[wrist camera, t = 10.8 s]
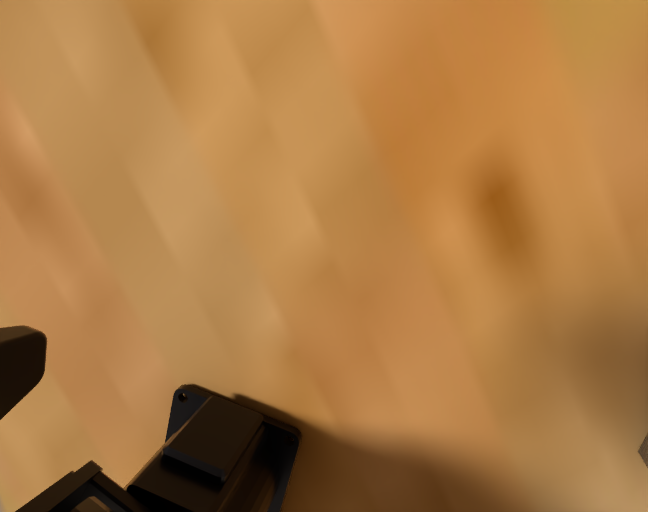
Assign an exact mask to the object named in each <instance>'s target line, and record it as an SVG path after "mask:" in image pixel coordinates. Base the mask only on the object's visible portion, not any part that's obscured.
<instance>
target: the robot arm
mask: <svg viewBox="0 0 648 512" xmlns="http://www.w3.org/2000/svg"><path fill="white" fill-rule="evenodd" d="M46 348H47V338H46V335H45V334H44V333H43V332H41V331H39V330H36V329H34V328H31V327H28V326H13V327H5V328H0V420H1V419H2V418H3V417H4V416H5V415H6V414H7V413H8V412H9V411H10V410H11V409H12V408H13V407H14V406H15V405H16V404H17V403H18V402H20V401H21V400H22V399H23V398H24V397H25V396H26V395H27V394H28V393H29V392H30V391H31V390H32V389H33V388H34V387H35V386H36V385H37V384H38V383H39V382H40V380H41V379H42V377H43V374H44V371H45V361H46ZM183 393H184V394H185V395H186V396H187V397H188V398H186V397H184V395H183ZM287 436H290V437H292V438H293V440H294V441H292V440H289V439H288V438H287ZM301 440H302V435H301V433H300V431H299V430H298V429H296V428H295V427H292V426H290V425H287V424H285V423H282V422H280V421H277V420H275V419H272V418H270V417H267V416H265V415H262V414H260V413H257V412H255V411H252V410H250V409H247V408H245V407H242V406H240V405H237V404H235V403H232V402H230V401H227V400H225V399H222V398H220V397H217V396H215V395H212V394H210V393H207V392H205V391H202V390H200V389H197V388H195V387H192V386H190V385H186V384H185V385H181V386H180V387H179V388H178V389H177V390H176V391H175V393H174V396H173V401H172V407H171V412H170V418H169V423H168V429H167V434H166V440H165V444H164V445H163V446H162V447H161V448H160V449H159V450H158V451H157V452H156V454H155V455H154V456H153V457H152V458H151V459H150V460H149V461H148V462H147V463H146V465H145V466H144V467H143V468H142V469H141V470H140V471H139V472H138V473H137V474H136V475H135V477H134V478H133V479H132V480H131V481H130V482H129V483H128V484H127V485H126V486H125V487H124V489H123V488H122V487H121V486H119V485H118V484H117V483H116V482H114V481H113V480H112V479H111V478H109V477H108V476H107V475H105V474H104V473H103V472H102V470H103V469H102V468H101V467H100V466H99V465H97V464H96V463H95V462H93V461H92V460H91V461H90V462H88V463H87V464H86V465H84V466H83V467H81V468H80V469H79V470H77V471H76V472H73V471H71V472H70V473H68V474H67V475H66V476H64V477H63V478H61V479H60V480H59V481H57V482H56V483H54V484H53V485H52V486H50V487H49V488H47V489H46V490H45V491H43V492H42V493H41V494H39V495H38V496H36V497H35V498H34V499H32V500H31V501H29V502H28V503H27V504H25V505H24V506H22V507H21V508H20V509H18V510H17V511H15V512H281V509H282V506H283V502H284V499H285V495H286V492H287V488H288V485H289V481H290V478H291V475H292V471H293V468H294V464H295V461H296V457H297V454H298V451H299V447H300V444H301Z"/></svg>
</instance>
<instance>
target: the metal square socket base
mask: <svg viewBox="0 0 648 512" xmlns="http://www.w3.org/2000/svg"><path fill="white" fill-rule="evenodd" d="M638 452H639V454H640V456H641V457H642V459H643V461H644V462H645V464H646V466H647V468H648V435H647V437H646V438H645V440H644V442H643V444H642V445H641V447H640V449H639V451H638Z"/></svg>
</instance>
